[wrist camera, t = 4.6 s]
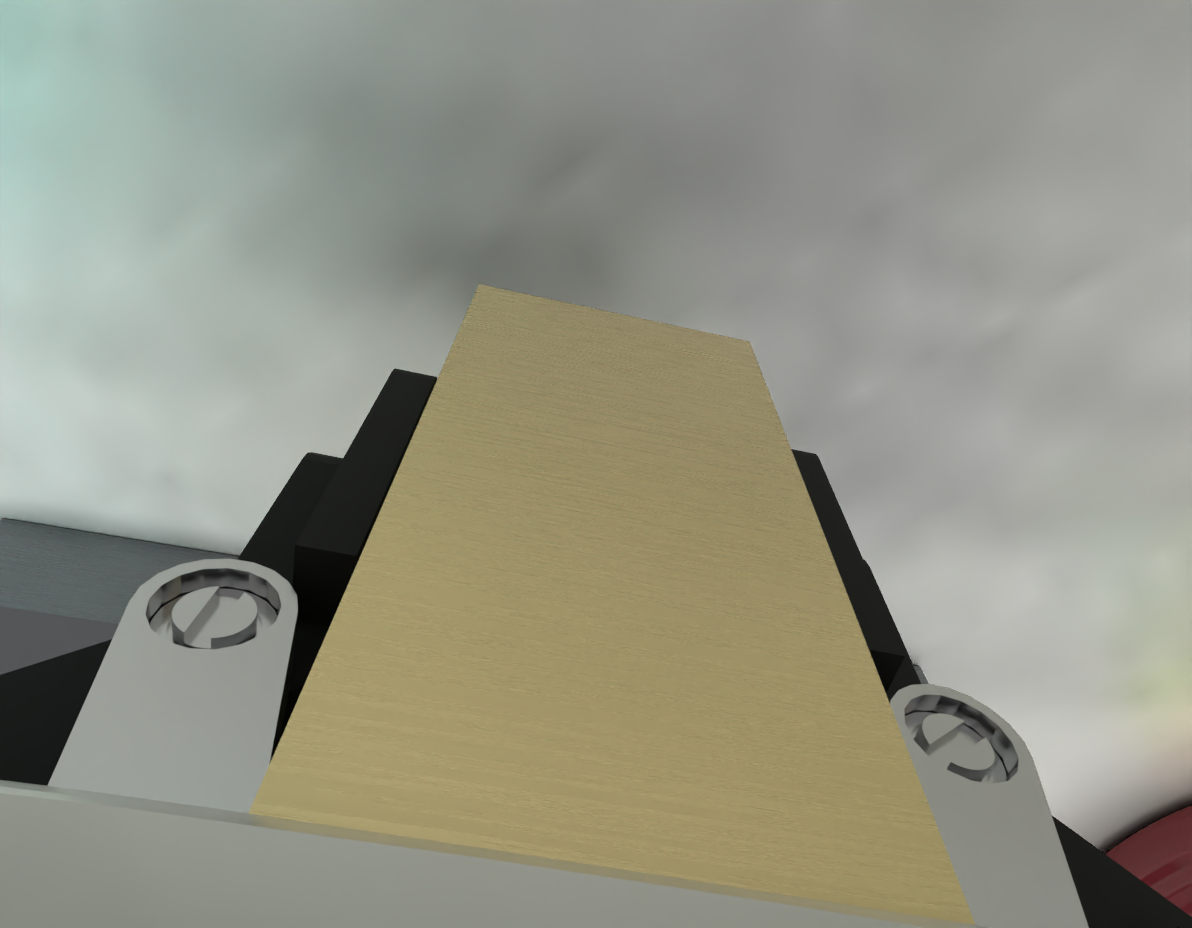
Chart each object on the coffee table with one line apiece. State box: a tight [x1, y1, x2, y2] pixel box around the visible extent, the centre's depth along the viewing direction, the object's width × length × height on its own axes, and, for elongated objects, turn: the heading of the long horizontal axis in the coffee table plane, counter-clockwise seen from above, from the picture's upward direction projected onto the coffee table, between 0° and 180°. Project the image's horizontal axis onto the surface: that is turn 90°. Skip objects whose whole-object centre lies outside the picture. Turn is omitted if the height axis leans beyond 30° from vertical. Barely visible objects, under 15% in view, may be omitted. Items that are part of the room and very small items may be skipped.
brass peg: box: [249, 284, 975, 925], centre depth 9 cm, size 4×4×9 cm
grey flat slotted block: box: [0, 518, 928, 684], centre depth 24 cm, size 24×10×3 cm, turn 78°
